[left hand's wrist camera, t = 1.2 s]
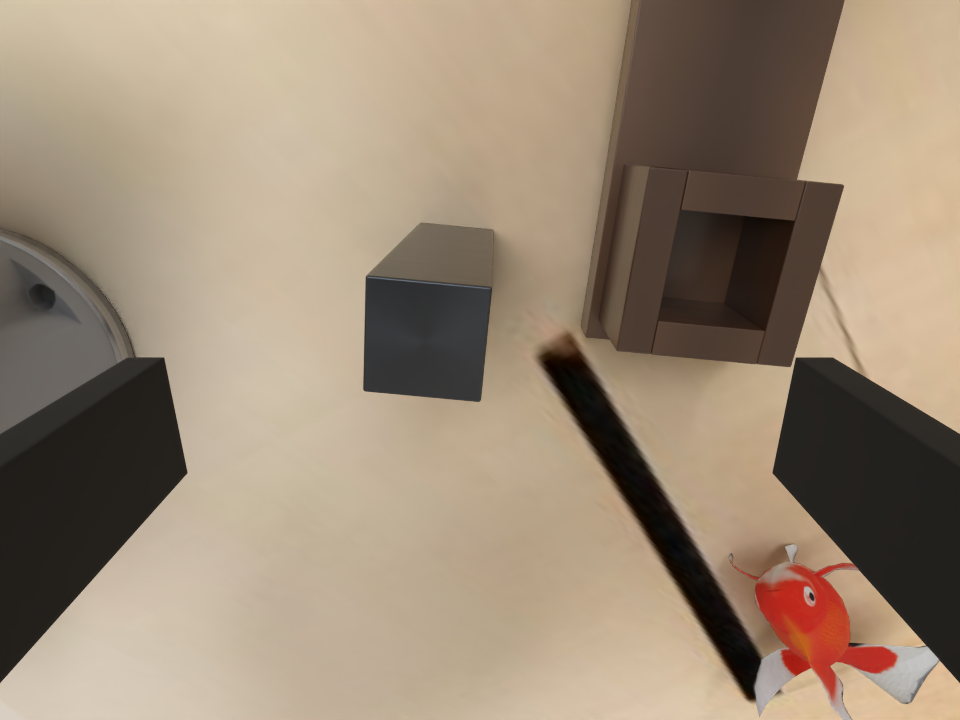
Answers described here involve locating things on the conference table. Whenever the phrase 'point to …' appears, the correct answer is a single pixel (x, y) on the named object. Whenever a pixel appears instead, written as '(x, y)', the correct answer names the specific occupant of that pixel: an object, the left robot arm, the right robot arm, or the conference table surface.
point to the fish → (825, 638)
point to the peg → (430, 314)
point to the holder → (713, 181)
